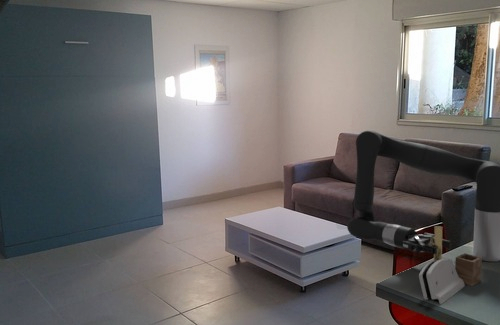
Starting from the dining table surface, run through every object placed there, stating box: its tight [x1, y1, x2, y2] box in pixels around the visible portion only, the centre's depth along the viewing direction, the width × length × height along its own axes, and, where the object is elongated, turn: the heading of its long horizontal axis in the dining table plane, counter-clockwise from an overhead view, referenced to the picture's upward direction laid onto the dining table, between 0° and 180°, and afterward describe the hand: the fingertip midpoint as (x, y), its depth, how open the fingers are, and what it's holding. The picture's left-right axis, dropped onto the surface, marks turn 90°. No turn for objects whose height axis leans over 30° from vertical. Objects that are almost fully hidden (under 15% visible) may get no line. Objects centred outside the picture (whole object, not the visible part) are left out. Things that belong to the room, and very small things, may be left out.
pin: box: [433, 225, 444, 261], centre depth 147 cm, size 2×2×15 cm
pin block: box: [454, 253, 483, 287], centre depth 140 cm, size 5×5×8 cm
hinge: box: [418, 258, 466, 305], centre depth 134 cm, size 17×5×10 cm, turn 133°
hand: (443, 247), depth 146 cm, fingers open, 8 cm apart
